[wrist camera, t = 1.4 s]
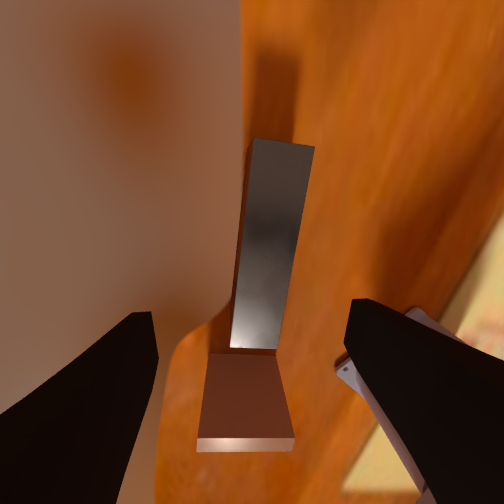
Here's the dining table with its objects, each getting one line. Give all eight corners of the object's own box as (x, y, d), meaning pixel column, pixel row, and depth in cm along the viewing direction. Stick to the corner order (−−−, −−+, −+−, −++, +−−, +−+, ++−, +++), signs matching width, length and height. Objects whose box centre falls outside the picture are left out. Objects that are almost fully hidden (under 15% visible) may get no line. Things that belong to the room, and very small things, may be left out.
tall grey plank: (247, 148, 16) (253, 137, 11) (290, 154, 16) (315, 146, 11) (230, 304, 19) (229, 346, 15) (265, 307, 20) (276, 349, 15)
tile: (208, 352, 20) (197, 438, 14) (275, 355, 21) (295, 438, 15) (207, 366, 21) (196, 455, 14) (273, 368, 22) (290, 454, 15)
